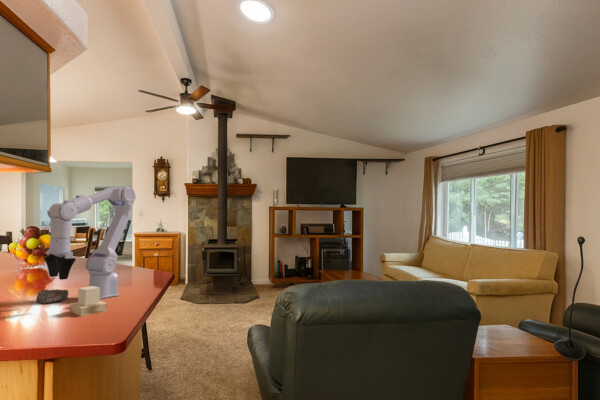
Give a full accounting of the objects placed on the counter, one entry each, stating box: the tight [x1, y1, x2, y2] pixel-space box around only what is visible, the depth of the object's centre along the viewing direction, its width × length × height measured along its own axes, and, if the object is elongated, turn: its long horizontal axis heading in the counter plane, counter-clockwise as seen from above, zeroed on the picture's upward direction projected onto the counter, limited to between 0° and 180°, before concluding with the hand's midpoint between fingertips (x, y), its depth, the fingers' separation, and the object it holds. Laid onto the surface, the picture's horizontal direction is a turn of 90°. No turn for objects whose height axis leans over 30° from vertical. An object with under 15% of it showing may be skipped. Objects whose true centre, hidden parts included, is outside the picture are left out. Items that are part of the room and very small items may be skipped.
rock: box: [35, 288, 69, 305], centre depth 126 cm, size 9×11×4 cm
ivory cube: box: [77, 285, 100, 306], centre depth 115 cm, size 4×4×5 cm
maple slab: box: [69, 300, 109, 317], centre depth 114 cm, size 8×8×3 cm
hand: (58, 277), depth 119 cm, fingers open, 7 cm apart
